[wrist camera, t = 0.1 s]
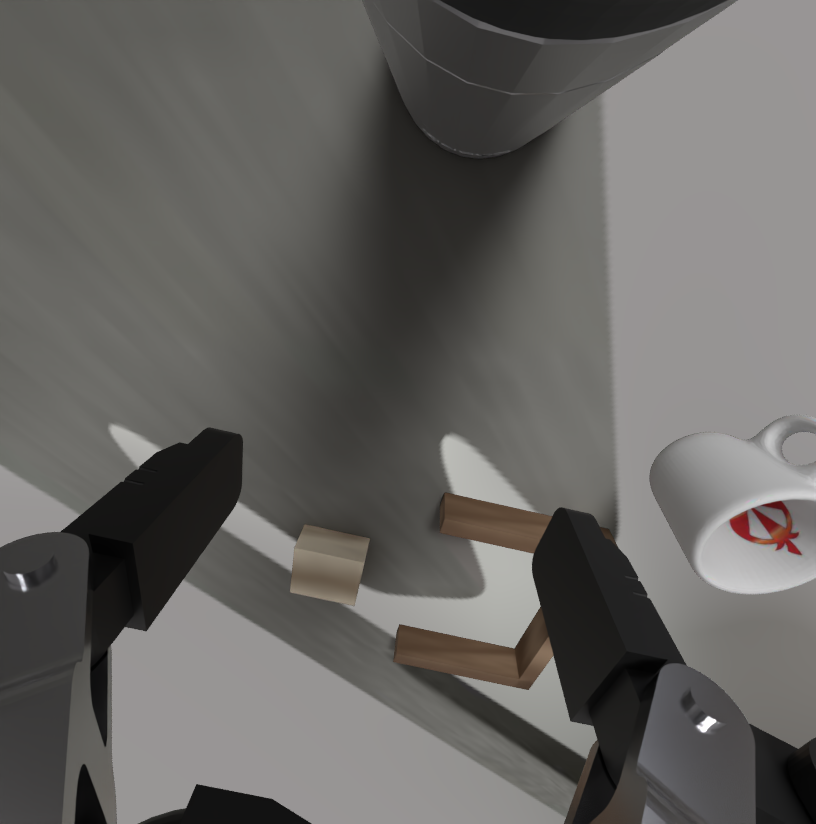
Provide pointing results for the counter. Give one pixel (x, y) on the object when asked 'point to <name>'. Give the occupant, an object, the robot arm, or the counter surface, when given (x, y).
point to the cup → (741, 507)
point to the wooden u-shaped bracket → (473, 655)
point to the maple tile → (328, 564)
